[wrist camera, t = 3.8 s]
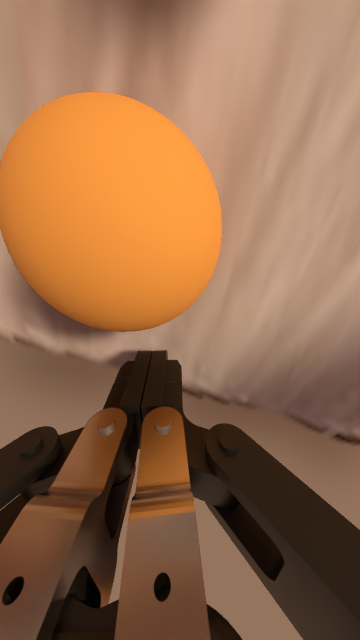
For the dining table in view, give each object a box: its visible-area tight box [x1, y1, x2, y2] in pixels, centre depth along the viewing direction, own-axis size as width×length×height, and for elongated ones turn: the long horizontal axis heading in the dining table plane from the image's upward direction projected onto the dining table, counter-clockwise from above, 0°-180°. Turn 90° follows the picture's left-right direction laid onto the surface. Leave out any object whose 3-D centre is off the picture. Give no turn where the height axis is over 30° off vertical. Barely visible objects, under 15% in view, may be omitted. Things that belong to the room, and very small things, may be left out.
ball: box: [0, 92, 222, 332], centre depth 6 cm, size 6×6×6 cm
